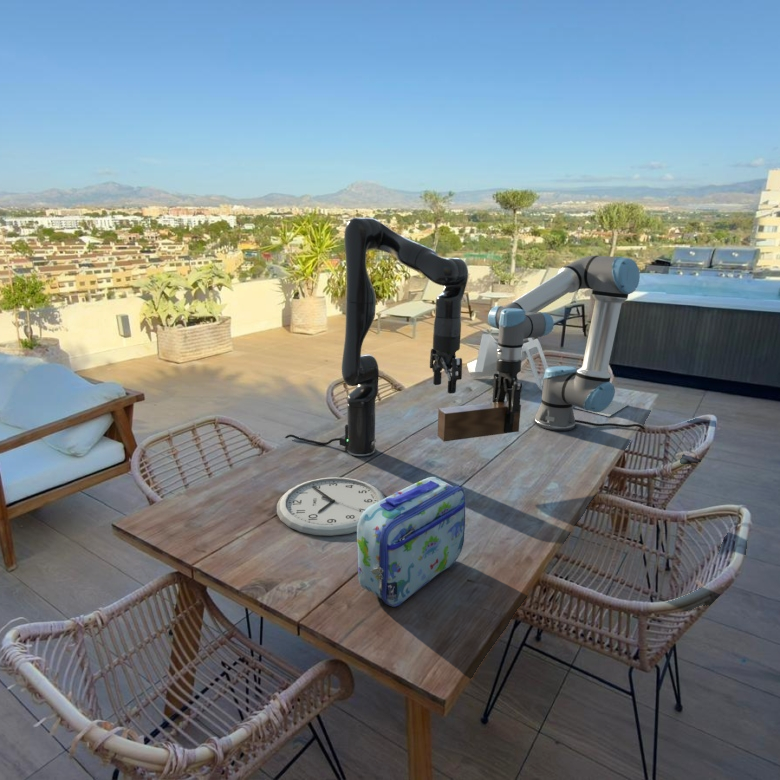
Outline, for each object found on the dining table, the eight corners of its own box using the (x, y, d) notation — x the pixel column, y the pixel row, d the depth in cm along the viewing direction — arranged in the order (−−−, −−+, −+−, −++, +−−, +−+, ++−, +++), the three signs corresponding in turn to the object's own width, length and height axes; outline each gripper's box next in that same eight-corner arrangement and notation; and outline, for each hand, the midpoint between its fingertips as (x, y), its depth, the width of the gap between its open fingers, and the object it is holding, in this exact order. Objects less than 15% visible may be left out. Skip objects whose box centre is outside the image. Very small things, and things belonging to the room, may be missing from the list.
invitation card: (608, 416, 214) (573, 407, 224) (608, 416, 214) (573, 408, 224) (628, 404, 229) (594, 396, 238) (628, 405, 229) (594, 397, 238)
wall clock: (392, 527, 129) (268, 531, 127) (391, 533, 130) (269, 537, 127) (383, 473, 158) (282, 475, 155) (383, 478, 158) (282, 480, 156)
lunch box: (386, 620, 101) (388, 525, 95) (350, 593, 108) (349, 503, 102) (468, 563, 119) (474, 480, 112) (432, 543, 126) (436, 464, 120)
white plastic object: (488, 419, 265) (468, 396, 240) (469, 347, 287) (449, 319, 262) (559, 395, 253) (546, 369, 228) (534, 321, 275) (519, 290, 250)
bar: (510, 426, 173) (512, 400, 171) (518, 431, 169) (521, 404, 166) (437, 435, 165) (438, 408, 162) (443, 441, 161) (445, 413, 158)
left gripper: (423, 328, 149) (421, 383, 154) (447, 338, 137) (444, 397, 141) (446, 327, 152) (443, 380, 157) (472, 336, 139) (468, 394, 144)
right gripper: (484, 353, 170) (480, 420, 177) (514, 367, 153) (508, 440, 160) (504, 351, 172) (499, 418, 179) (536, 365, 156) (529, 437, 163)
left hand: (444, 388), depth 149 cm, fingers open, 8 cm apart
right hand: (503, 428), depth 170 cm, fingers closed on bar, 5 cm apart
